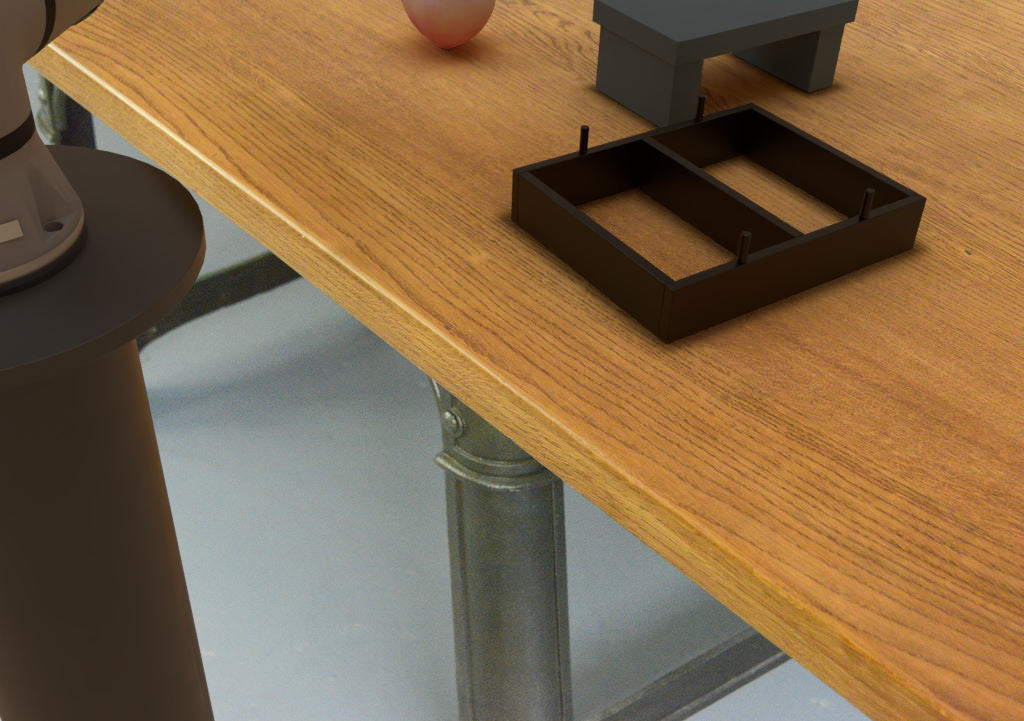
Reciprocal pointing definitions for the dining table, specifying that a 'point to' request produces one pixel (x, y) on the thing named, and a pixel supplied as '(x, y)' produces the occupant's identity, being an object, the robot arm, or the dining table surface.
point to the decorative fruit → (449, 19)
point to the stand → (711, 47)
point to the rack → (714, 215)
